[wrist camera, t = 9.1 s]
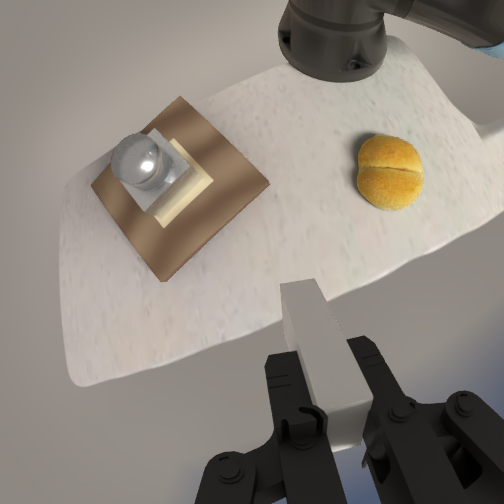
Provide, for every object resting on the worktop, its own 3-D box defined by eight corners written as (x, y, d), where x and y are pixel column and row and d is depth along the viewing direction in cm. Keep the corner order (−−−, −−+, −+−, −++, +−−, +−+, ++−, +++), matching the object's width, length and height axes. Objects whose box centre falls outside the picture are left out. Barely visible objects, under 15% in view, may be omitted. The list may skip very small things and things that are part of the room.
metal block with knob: (203, 178, 33) (177, 153, 25) (162, 218, 34) (126, 205, 26) (170, 142, 34) (139, 113, 26) (132, 180, 35) (94, 161, 27)
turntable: (269, 184, 34) (268, 180, 32) (166, 281, 35) (160, 282, 33) (184, 101, 36) (180, 95, 34) (97, 188, 37) (90, 185, 36)
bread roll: (353, 208, 34) (360, 201, 30) (357, 137, 35) (363, 123, 31) (418, 217, 33) (431, 212, 29) (418, 148, 33) (430, 136, 30)
